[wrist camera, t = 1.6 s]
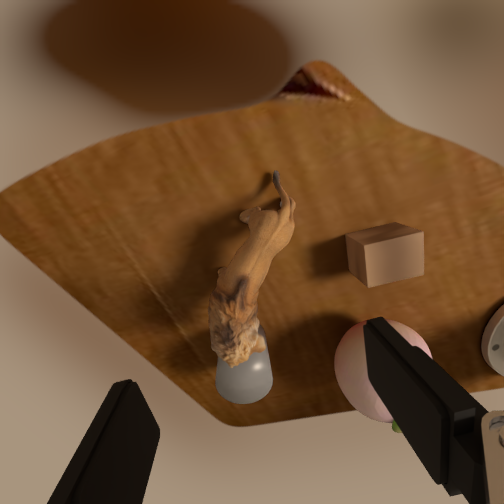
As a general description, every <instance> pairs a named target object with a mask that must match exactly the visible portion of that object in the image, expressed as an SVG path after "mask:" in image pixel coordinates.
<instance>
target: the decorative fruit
mask: <svg viewBox="0 0 504 504" xmlns="http://www.w3.org/2000/svg"><path fill="white" fill-rule="evenodd" d="M385 320H386V321H387V322H388V323H389V324H390V325H391V326H392V327H393V328H394V329H396V330H397V331H398V332H399V333H400V334H401V335H402V336H403V337H404V338H405V339H406V340H407V341H408V342H409V343H410V344H411V345H412V346H418V347H420V348H421V349H422V350H423V351H424V352H425V353H427V354H428V355H429V356H430V357H431V358H432V356H431V353H430V350H429V348H428V346H427V344H426V343H425V341H424V340H423V338H422V337H421V336H420V335H419V334H418V333H416V332H415V331H414V330H412V329H411V328H409V327H407V326H406V325H404V324H401V323H399V322H396V321H392V320H388V319H385ZM366 322H367V320H365V321H363V322H360V323H358V324H356V325H354V326H353V327H351V328H350V329H349V330H348V331H347V332H346V333H345V335H344V336H343V337H342V339H341V341H340V343H339V345H338V347H337V349H336V353H335V360H334V365H335V374H336V378H337V381H338V384H339V386H340V388H341V390H342V392H343V393H344V395H345V396H346V398H347V399H348V401H349V402H350V403H351V404H352V406H354V407H355V408H356V409H357V410H358V411H359V412H361V413H362V414H363V415H365V416H367V417H369V418H371V419H373V420H376V421H380V422H386V423H393V424H392V429H393V431H395V432H397V433H402V431H401V430H400V428H399V427H398V425H397V424H396V422H395V421H394V419H393V418H392V416H391V414H390V413H389V411H388V410H387V408H386V407H385V405H384V404H383V402H382V401H381V399H380V397H379V396H378V394H377V393H376V391H375V390H374V388H373V387H372V385H371V383H370V381H369V378H368V373H367V363H366V353H365V343H364V333H363V325H366Z"/></svg>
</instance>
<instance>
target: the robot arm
mask: <svg viewBox="0 0 504 504" xmlns="http://www.w3.org/2000/svg"><path fill="white" fill-rule="evenodd" d="M363 333H364V343H365V353H366V363H367V373H368V378H369V381H370V383H371V385H372V387H373V388H374V390H375V391H376V393H377V394H378V396H379V397H380V399H381V401H382V402H383V404H384V405H385V407H386V408H387V410H388V411H389V413H390V414H391V416H392V418H393V419H394V421H395V422H396V424H397V425H398V427H399V428H400V430H401V431H402V433H403V434H404V436H405V438H406V439H407V440H408V442H409V444H410V445H411V447H412V448H413V450H414V451H415V453H416V454H417V456H418V457H419V459H420V461H421V462H422V463H423V465H424V466H425V468H426V470H427V471H428V473H429V474H430V476H431V477H432V479H433V480H434V481H435V483H436V484H438V485H439V484H442V485H443V486H444V488H445V489H446V491H447V492H448V494H449V495H450V496H454V495H458V494H463V495H464V497H465V498H466V500H467V501H468V502H469V504H504V411H491V412H488V411H487V410H486V409H485V408H484V407H483V406H482V405H480V403H479V402H477V401H476V400H475V399H474V398H473V397H472V396H471V395H470V394H469V393H468V392H467V391H466V390H465V389H464V388H463V387H462V386H461V385H459V384H458V383H457V382H456V381H455V380H454V379H453V378H452V377H451V376H450V375H449V374H448V373H447V372H446V371H445V370H444V369H442V368H441V367H440V366H439V365H438V364H437V363H436V362H435V361H434V360H433V359H432V358H431V357H430V356H429V355H428V354H427V353H425V352H424V351H423V350H422V349H421V348H420V347H418V346H412V345H411V344H410V343H409V342H408V341H407V340H406V339H405V338H404V337H403V336H402V335H401V334H400V333H399V332H398V331H397V330H396V329H394V328H393V327H392V326H391V325H390V324H389V323H388V322H387V321H386V320H385V319H384V318H383V317H378V318H374V319H370V320H367V322H366V325H363ZM481 348H482V355H483V357H484V360H485V361H486V363H487V364H488V365H489V366H490V367H491V368H492V369H494V370H495V371H496V372H497V373H499V374H501V375H502V376H504V304H503V305H502V306H501V307H500V308H499V309H498V310H497V311H496V313H495V314H494V315H493V316H492V318H491V319H490V321H489V322H488V324H487V326H486V328H485V331H484V334H483V336H482V344H481ZM159 438H160V428H159V426H158V424H157V422H156V420H155V418H154V416H153V414H152V412H151V410H150V408H149V406H148V404H147V402H146V400H145V398H144V396H143V394H142V392H141V390H140V388H139V386H138V384H137V383H136V382H133V381H132V380H131V379H128V380H124V381H120V382H116V383H114V384H113V385H112V387H111V389H110V391H109V392H108V394H107V396H106V398H105V400H104V401H103V403H102V405H101V407H100V409H99V410H98V412H97V414H96V416H95V418H94V419H93V421H92V423H91V425H90V427H89V428H88V430H87V432H86V434H85V436H84V437H83V439H82V441H81V443H80V445H79V447H78V448H77V450H76V452H75V454H74V456H73V457H72V459H71V461H70V463H69V465H68V466H67V468H66V470H65V472H64V474H63V475H62V477H61V479H60V481H59V483H58V484H57V486H56V488H55V490H54V492H53V493H52V495H51V497H50V499H49V501H48V503H47V504H142V502H143V498H144V494H145V490H146V486H147V483H148V480H149V476H150V472H151V468H152V464H153V461H154V457H155V453H156V449H157V446H158V442H159Z"/></svg>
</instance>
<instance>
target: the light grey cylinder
mask: <svg viewBox="0 0 504 504" xmlns="http://www.w3.org/2000/svg"><path fill="white" fill-rule="evenodd" d="M258 334H260V335H262V336H263V337H264V340H265V345H266V349H265V350H264V351H263V352H261V353H257V352H253V353H252V354H251V355H250V356H249V359H248V360H247V361H245V362H243V363H239V365H238V366H233V368H230V367H229V366H228V364H227V363H226V362H225V361H223V360H222V359H221V358H220V357H219V356H218V363H217V372H216V388H217V390H218V392H219V394H220V395H221V396H222V397H223V398H225V399H226V400H228V401H230V402H233V403H238V404H248V403H253V402H256V401H258V400H260V399H262V398H263V397H264V396H266V395H267V393H268V392H269V391H270V389H271V387H272V384H273V377H272V371H271V365H270V359H269V353H268V347H267V341H266V335H265V331H264V329H263V328H262V326H261V325H260V324H259V327H258Z"/></svg>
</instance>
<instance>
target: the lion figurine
mask: <svg viewBox="0 0 504 504" xmlns="http://www.w3.org/2000/svg"><path fill="white" fill-rule="evenodd" d="M273 183H274V185H275V188H276V189H277V191H278V193H279V195H280V198H281V202H280V207H281V209H280V210H278V211H277V212H276V211H273V210H261V209H260V207H255V208H252V209H247V210H244V211H243V212H242V213H241V214H240V220H241V221H242V222H244V223H246V224H248V226H249V230H250V233H251V234H250V237H249V238H248V240H247V241H246V242H245V243H244V244H243V245H242V246H241V247H240V248H239V249H238V251H237V252H236V254H235V256H234V258H233V259H232V261H231V263H230V264H229V266H228V268H226V267H223V268H220V269H219V270H218V276H219V278H218V280H217V287H216V288H215V289H214V290H213V292H212V293H211V296H210V299H209V302H210V303H209V307H208V314H209V328H210V334H211V338H210V339H211V348H212V350H213V351H215V352H216V353H217V355H218V356H219V357H220V358H221V359H222V360H223V361H225V362H226V363H227V364H228V366H229V367H230V368H233V366H238V365H239V363H243V362H245V361H247V360H248V359H249V356H250V355H251V354H252V353H253V352H257V353H261V352H263V351H264V350H265V349H266V345H265V340H264V337H263V336H262V335H260V334H258V327H259V320H258V318H257V312H258V304H257V301H256V300H257V297H258V294H259V291H258V289H259V287H260V286H261V284H262V283H263V281H264V279H265V277H266V275H267V272H268V270H269V267H270V264H271V261H272V259H273V257H274V256H275V255H276V254H277V253H278V252H279V251H281V250H282V249H283V248H284V247H285V246H286V245H287V244H288V243H289V241H290V239H291V236H292V234H293V231H294V226H295V225H294V221H293V211H294V209H295V205H296V204H295V201H294V200H293V199H292V198H291V197H290V196H288V195H287V193H286V192H285V191H284V189H283V188H282V186H281V184H280V177H279V172H278V171H276V170H275V171H274V174H273Z"/></svg>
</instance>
